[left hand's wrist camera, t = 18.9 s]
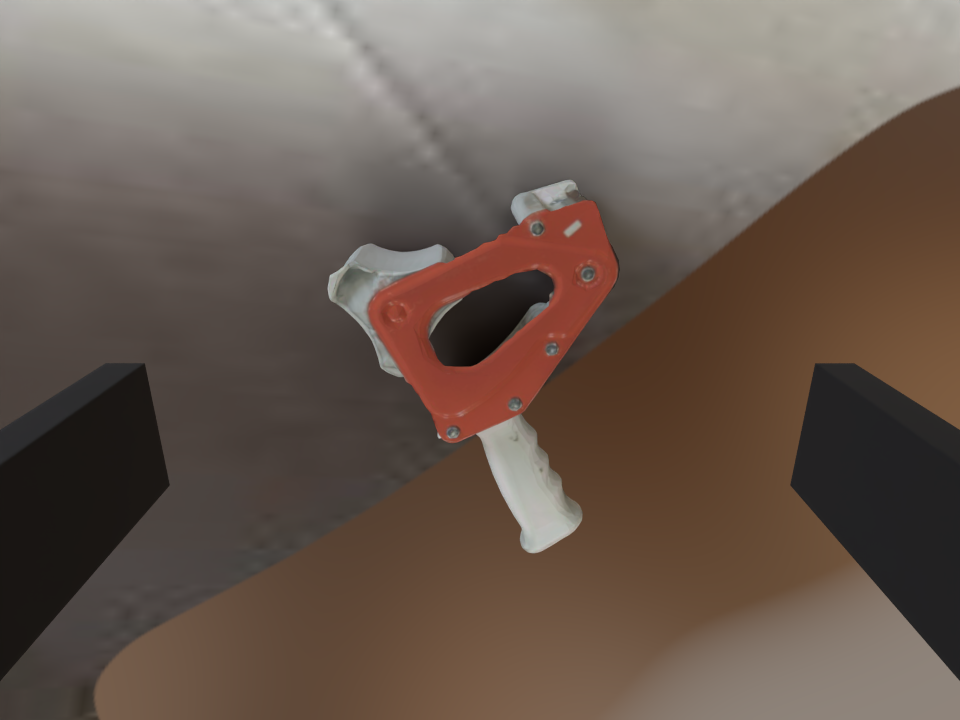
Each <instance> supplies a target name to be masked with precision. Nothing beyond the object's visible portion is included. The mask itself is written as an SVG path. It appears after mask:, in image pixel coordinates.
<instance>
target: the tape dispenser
mask: <svg viewBox="0 0 960 720" xmlns="http://www.w3.org/2000/svg"><path fill="white" fill-rule="evenodd" d="M511 210H512V213H513V215H514V217H515V219H516V220H517V222H518V224H519V225H517V226H514V227H512V228H511V229H510V230H509V232H508V233H506V234H500V235H499V236H498V237H497V239H496V240H494V241H491V242H487V243H483V244H482V245H481V246H479V247H478V248H477V249H475V250H472V251H470V252H468V253H466V254H464V255H462V256H460V257H456V258H455V257H454V256H453V255H452V253H451V252H450V251H449V250H448V249H447V248H445V247H444V246H442V245H439V244H436V245H434V246H432V247H429V248H426V249H422V250H419V251H412V252H397V251H391V250H387V249H384V248H381V247H378V246H376V245H374V244H367V245H364V246H361V247H360V248H358V249H357V250H356V251H355V252H354V253H353V254H352V255H351V256H350V258H349V259H348V261H347V262H346V264H345V265H344V267H342V268H341V269H340V270H338V271H337V272H335V273H333V274H332V275H330V278H329V284H328V293H329V298H330V300H331V301H332V302H334V303H336V304H338V305H339V306H341V307H342V308H343V309H345V310H346V311H347V312H348V313H349V314H350V315H351V316H352V317H353V318H354V319H355V320H356V321H357V322H358V323H359V324H360V325H361V326H362V328H363V329H364V330H365V331H366V333H367V334H368V336H369V337H370V338H371V340H372V342H373V344H374V347H375V349H376V353H377V356H378V359H379V364H380V367H381V368H382V369H383V370H385V371H386V372H388V373H390V374H393V375H395V376H397V377H404V378H405V380H406V382H408V383H409V384H411V385H412V386H413V388H414V390H415V391H416V393H417V394H418V395H419V396H420V398H421V400H422V401H423V403H424V405H425V406H426V408H427V409H428V410H429V411H430V412H431V414H432V418H433V421H434V423H435V426H436V429H437V431H438V438H442V439H443V440H444V441H446V442H449V443H456V442H459V441H462V440H464V439H466V438H468V437H470V436H473V435H475V434H476V435H478V436H479V437H480V438H481V440H482V443H483V446H484V450H485V453H486V456H487V459H488V461H489V464H490V467H491V470H492V473H493V475H494V478H495V480H496V482H497V484H498V486H499V489H500V491H501V493H502V495H503V497H504V499H505V500H506V502H507V504H508V506H509V508H510V509H511V511H512V513H513V515H514V516H515V518H516V519H517V521H518V523H519V524H520V526H521V527H522V532H521V537H520V542H521V545H522V548H523V549H524V550H526V551H527V552H530V553H537V552H540V551H543V550H544V549H546V548H548V547H550V546H551V545H553V544H555V543H556V542H558V541H559V540H561V539H563V538H564V537H566V536H568V535H570V534H571V533H572V532H573V531H574V530H575V529H576V528H577V527H578V526H579V524H580V522H581V521H582V514H583V513H582V510H581V508H580V506H579V504H578V503H577V502H575V501H573V500H572V499H570V498H569V497H568V496H567V495H566V494H565V493H564V491H563V488H562V479H561V478H560V476H559V474H558V473H556V472H555V471H554V470H552V469H551V468H550V466H549V458H548V455H547V454H546V452H545V451H544V450H543V449H541V448H540V447H539V445H538V444H537V433H536V431H535V429H534V428H533V427H532V426H530V425H529V424H528V423H527V422H526V421H525V419H524V417H523V416H522V414H521V413H523V412H524V411H525V410H526V408H527V407H528V406H529V404H530V403H531V402H532V400H533V399H534V397H535V396H536V395H537V393H538V392H539V390H540V389H541V387H542V386H543V385H544V383H545V382H546V380H547V379H548V378H549V376H550V375H551V373H552V372H553V371H554V369H555V368H556V366H557V365H558V363H559V362H560V361H561V359H562V358H563V356H564V355H565V354H566V352H567V351H568V350H569V348H570V347H571V345H572V344H573V342H574V341H575V339H576V338H577V336H578V335H579V333H580V332H581V331H582V329H583V328H584V326H585V325H586V324H587V322H588V321H589V319H590V318H591V317H592V315H593V314H594V312H595V311H596V310H597V308H598V307H599V306H600V304H601V303H602V302H603V300H604V299H605V298H606V296H607V295H608V294H609V292H610V291H611V290H612V289H613V287H614V286H615V284H616V282H617V279H618V276H619V270H620V269H619V260H618V258H617V256H616V254H615V251H614V249H613V247H612V246H611V244H610V243H609V240H608V238H607V236H606V233H605V230H604V226H603V223H602V219H601V216H600V213H599V210H598V208H597V205H596V203H595V202H594V201H590V200H587V199H586V198H585V197H584V196H583V197H581V194H580V193H579V191H578V187H577V185H576V183H575V182H574V181H573V180H565V181H562V182H558V183H555V184H552V185H548V186H545V187H541V188H538V189H535V190H532V191H529V192H525V193H520V194H518V195H517V196H515V198H514V199H513V200H512V205H511ZM536 269H537V270H539V271H541V272H543V273H545V274H546V275H548V276H549V277H550V278H551V279H552V282H553V285H554V290H553V291H552V292H551V293H550V295H549V299H550V300H549V301H548V302H547V303H537V304H534V305H533V306H531V307H530V309H529V310H528V311H527V313H526V314H525V315H524V317H523V318H522V320H521V321H520V322H519V324H518V325H517V326H516V328H515V329H514V330H513V331H512V333H511V334H510V335H509V336H508V337H507V338H506V339H505V340H504V341H503V342H502V343H501V344H500V345H499V346H498V347H497V348H496V349H495V350H494V351H493V352H492V353H491V354H490V355H488V356H487V357H486V358H485V359H484V360H482V361H481V362H480V363H478V364H476V365H474V366H471V367H452V366H444V365H443V364H442V363H441V362H440V361H439V360H438V359H437V356H436V354H435V350H434V348H433V346H432V344H431V342H430V340H429V337H430V335H431V333H432V332H433V330H434V328H435V326H436V325H437V323H438V322H439V321H440V319H441V318H442V317H443V316H444V314H445V313H446V312H447V311H449V310H450V309H451V308H452V307H453V306H454V305H456V304H457V303H458V302H459V301H461V300H462V298H463V297H465V296H467V295H468V294H469V293H470V292H472V291H474V290H477V289H480V288H482V287H485V286H487V285H489V284H490V283H492V282H494V281H498V280H502V279H505V278H507V277H508V276H510V275H512V274H514V273H519V272H525V271H532V270H536Z"/></svg>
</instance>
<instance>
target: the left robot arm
mask: <svg viewBox="0 0 960 720" xmlns="http://www.w3.org/2000/svg"><path fill="white" fill-rule="evenodd" d="M168 487H169V480H168V475H167V470H166V465H165V460H164V455H163V450H162V445H161V441H160V436H159V431H158V426H157V421H156V416H155V411H154V406H153V402H152V397H151V392H150V387H149V382H148V377H147V372H146V367H145V363H106V364H104V365H102V366H101V367H99V368H98V369H96V370H94V371H93V372H91V373H90V374H88V375H87V376H85V377H83V378H82V379H80V380H79V381H77V382H75V383H74V384H72V385H71V386H69V387H68V388H66V389H64V390H63V391H61V392H60V393H58V394H56V395H55V396H53V397H52V398H50V399H49V400H47V401H45V402H44V403H42V404H41V405H39V406H37V407H36V408H34V409H33V410H31V411H30V412H28V413H26V414H25V415H23V416H22V417H20V418H18V419H17V420H15V421H14V422H12V423H11V424H9V425H7V426H6V427H4V428H3V429H1V430H0V680H1V679H2V678H3V677H4V676H5V675H6V674H7V672H8V671H9V670H10V669H11V668H12V667H13V665H14V664H15V663H16V662H17V661H18V660H19V659H20V657H21V656H22V655H23V654H24V653H25V652H26V650H27V649H28V648H29V647H30V646H31V645H32V644H33V642H34V641H35V640H36V639H37V638H38V637H39V635H40V634H41V633H42V632H43V631H44V630H45V628H46V627H47V626H48V625H49V624H50V623H51V622H52V620H53V619H54V618H55V617H56V616H57V615H58V613H59V612H60V611H61V610H62V609H63V608H64V607H65V605H66V604H67V603H68V602H69V601H70V600H71V598H72V597H73V596H74V595H75V594H76V593H77V592H78V590H79V589H80V588H81V587H82V586H83V585H84V583H85V582H86V581H87V580H88V579H89V578H90V577H91V575H92V574H93V573H94V572H95V571H96V570H97V568H98V567H99V566H100V565H101V564H102V563H103V562H104V560H105V559H106V558H107V557H108V556H109V555H110V553H111V552H112V551H113V550H114V549H115V548H116V547H117V545H118V544H119V543H120V542H121V541H122V540H123V538H124V537H125V536H126V535H127V534H128V533H129V532H130V530H131V529H132V528H133V527H134V526H135V525H136V523H137V522H138V521H139V520H140V519H141V518H142V517H143V515H144V514H145V513H146V512H147V511H148V510H149V508H150V507H151V506H152V505H153V504H154V503H155V502H156V500H157V499H158V498H159V497H160V496H161V495H162V493H163V492H164V491H165V490H166V489H167V488H168ZM791 487H792V488H793V489H794V490H795V491H796V492H797V493H798V495H799V496H800V497H801V498H802V499H803V500H804V502H805V503H806V504H807V505H808V506H809V507H810V508H811V510H812V511H813V512H814V513H815V514H816V515H817V517H818V518H819V519H820V520H821V521H822V522H823V523H824V525H825V526H826V527H827V528H828V529H829V530H830V532H831V533H832V534H833V535H834V536H835V537H836V538H837V540H838V541H839V542H840V543H841V544H842V545H843V546H844V548H845V549H846V550H847V551H848V552H849V553H850V555H851V556H852V557H853V558H854V559H855V560H856V562H857V563H858V564H859V565H860V566H861V567H862V568H863V570H864V571H865V572H866V573H867V574H868V575H869V577H870V578H871V579H872V580H873V581H874V582H875V583H876V585H877V586H878V587H879V588H880V589H881V590H882V592H883V593H884V594H885V595H886V596H887V597H888V598H889V600H890V601H891V602H892V603H893V604H894V605H895V607H896V608H897V609H898V610H899V611H900V612H901V613H902V615H903V616H904V617H905V618H906V619H907V620H908V622H909V623H910V624H911V625H912V626H913V627H914V628H915V630H916V631H917V632H918V633H919V634H920V635H921V637H922V638H923V639H924V640H925V641H926V642H927V644H928V645H929V646H930V647H931V648H932V649H933V650H934V652H935V653H936V654H937V655H938V656H939V657H940V658H941V660H942V661H943V662H944V663H945V664H946V665H947V666H948V668H949V669H950V670H951V671H952V672H953V674H954V675H955V676H956V677H957V678H958V679H959V680H960V430H959V429H957V428H956V427H954V426H953V425H951V424H949V423H948V422H946V421H945V420H943V419H941V418H940V417H938V416H937V415H935V414H934V413H932V412H930V411H929V410H927V409H926V408H924V407H923V406H921V405H919V404H918V403H916V402H915V401H913V400H911V399H910V398H908V397H907V396H905V395H904V394H902V393H900V392H899V391H897V390H896V389H894V388H892V387H891V386H889V385H888V384H886V383H884V382H883V381H881V380H880V379H878V378H877V377H875V376H873V375H872V374H870V373H869V372H867V371H865V370H864V369H862V368H861V367H859V366H858V365H856V364H853V363H849V364H848V363H847V364H845V363H844V364H843V363H841V364H840V363H838V364H837V363H835V364H832V363H830V364H829V363H828V364H825V363H822V364H821V363H820V364H817V363H816V364H815V367H814V372H813V377H812V382H811V387H810V392H809V397H808V402H807V406H806V411H805V416H804V421H803V426H802V431H801V436H800V441H799V446H798V450H797V455H796V460H795V465H794V470H793V475H792V480H791Z"/></svg>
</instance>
